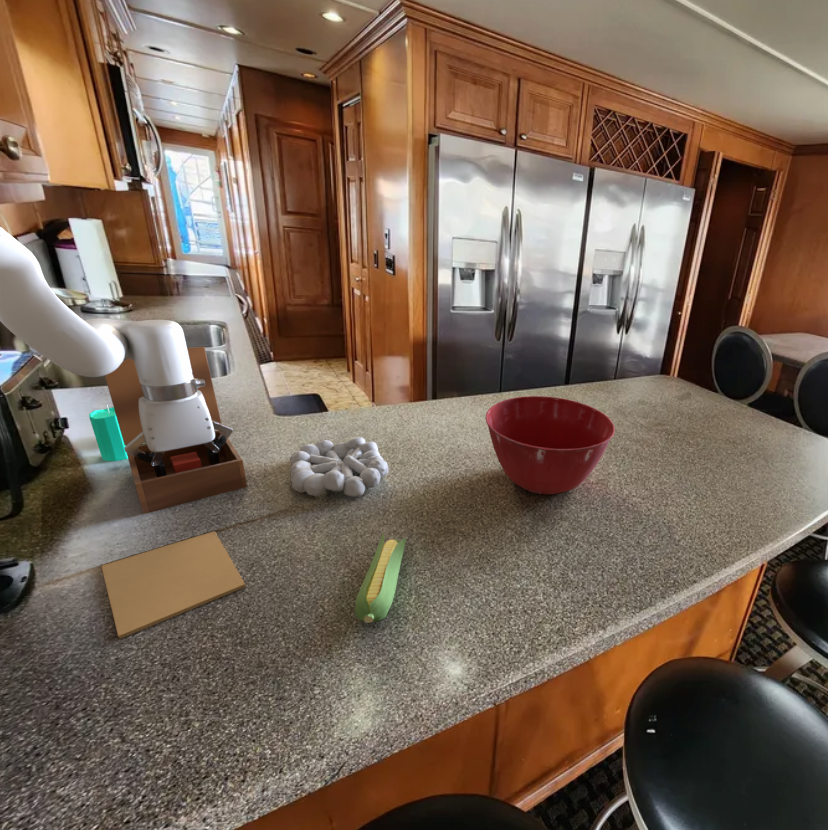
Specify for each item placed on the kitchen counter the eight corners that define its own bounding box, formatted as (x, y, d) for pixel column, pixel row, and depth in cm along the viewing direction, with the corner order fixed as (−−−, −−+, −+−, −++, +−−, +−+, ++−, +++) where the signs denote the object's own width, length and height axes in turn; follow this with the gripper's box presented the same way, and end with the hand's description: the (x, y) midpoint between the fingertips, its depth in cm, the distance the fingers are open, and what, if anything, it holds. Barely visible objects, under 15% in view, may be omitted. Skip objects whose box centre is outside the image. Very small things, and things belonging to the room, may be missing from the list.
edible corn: (349, 634, 63) (346, 608, 61) (381, 540, 81) (380, 519, 79) (388, 632, 63) (387, 607, 62) (412, 540, 82) (411, 519, 80)
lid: (204, 346, 94) (203, 346, 94) (98, 355, 83) (98, 354, 84) (222, 427, 98) (221, 427, 99) (124, 445, 88) (124, 444, 88)
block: (204, 481, 90) (199, 459, 89) (179, 488, 88) (173, 465, 86) (200, 473, 93) (195, 451, 91) (175, 479, 90) (170, 456, 88)
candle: (145, 457, 98) (131, 405, 93) (108, 467, 93) (92, 413, 89) (134, 448, 101) (120, 397, 96) (97, 457, 96) (81, 404, 91)
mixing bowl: (629, 485, 108) (640, 425, 102) (544, 533, 88) (552, 462, 82) (544, 441, 125) (549, 388, 119) (457, 473, 105) (458, 411, 99)
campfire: (258, 480, 94) (254, 455, 92) (345, 445, 112) (343, 423, 109) (331, 517, 85) (328, 491, 83) (413, 473, 103) (412, 449, 101)
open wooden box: (248, 490, 91) (242, 459, 88) (144, 517, 80) (134, 484, 78) (228, 457, 101) (222, 429, 99) (134, 477, 91) (125, 447, 88)
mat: (99, 559, 70) (98, 555, 70) (209, 524, 80) (209, 521, 80) (119, 639, 58) (117, 636, 58) (245, 587, 68) (245, 583, 68)
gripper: (222, 376, 91) (237, 455, 98) (102, 391, 80) (129, 479, 87) (231, 387, 87) (247, 469, 93) (105, 405, 75) (133, 497, 82)
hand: (190, 473), depth 90 cm, fingers open, 7 cm apart
